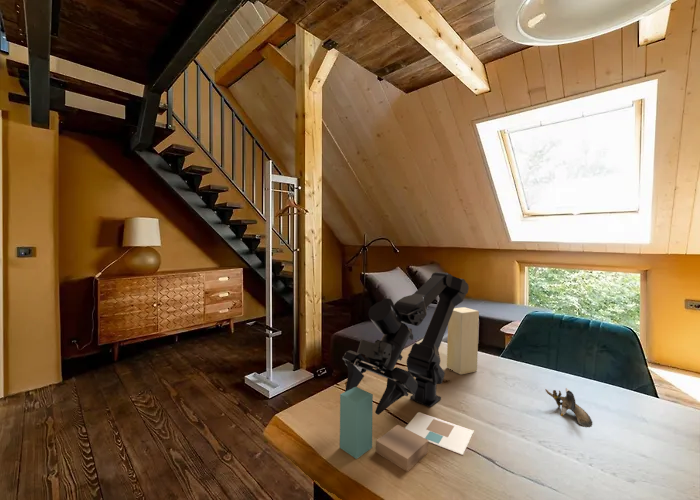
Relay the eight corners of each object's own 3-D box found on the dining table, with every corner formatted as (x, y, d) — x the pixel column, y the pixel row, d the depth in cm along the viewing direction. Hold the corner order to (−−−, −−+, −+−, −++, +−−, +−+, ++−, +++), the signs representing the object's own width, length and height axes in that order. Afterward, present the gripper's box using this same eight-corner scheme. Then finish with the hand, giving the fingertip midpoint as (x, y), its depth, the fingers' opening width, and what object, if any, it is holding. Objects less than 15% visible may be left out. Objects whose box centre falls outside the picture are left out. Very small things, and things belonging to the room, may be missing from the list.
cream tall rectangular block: (461, 363, 116) (463, 306, 115) (477, 371, 110) (479, 310, 109) (444, 367, 113) (446, 308, 112) (460, 375, 106) (462, 313, 105)
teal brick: (355, 437, 73) (355, 386, 73) (372, 447, 70) (372, 394, 69) (339, 447, 70) (340, 394, 69) (356, 459, 66) (357, 402, 66)
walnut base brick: (397, 437, 74) (397, 424, 74) (428, 453, 69) (428, 440, 69) (375, 454, 69) (376, 440, 68) (407, 473, 63) (407, 458, 63)
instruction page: (418, 412, 84) (418, 411, 84) (474, 431, 76) (474, 430, 76) (402, 431, 76) (402, 431, 76) (462, 455, 68) (462, 454, 68)
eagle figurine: (538, 404, 87) (569, 417, 77) (549, 378, 88) (580, 388, 79) (562, 418, 87) (595, 433, 78) (571, 392, 89) (605, 404, 80)
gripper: (348, 318, 80) (313, 374, 72) (412, 335, 67) (377, 405, 60) (368, 342, 86) (338, 396, 78) (430, 362, 73) (400, 429, 66)
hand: (360, 405), depth 70 cm, fingers open, 9 cm apart
